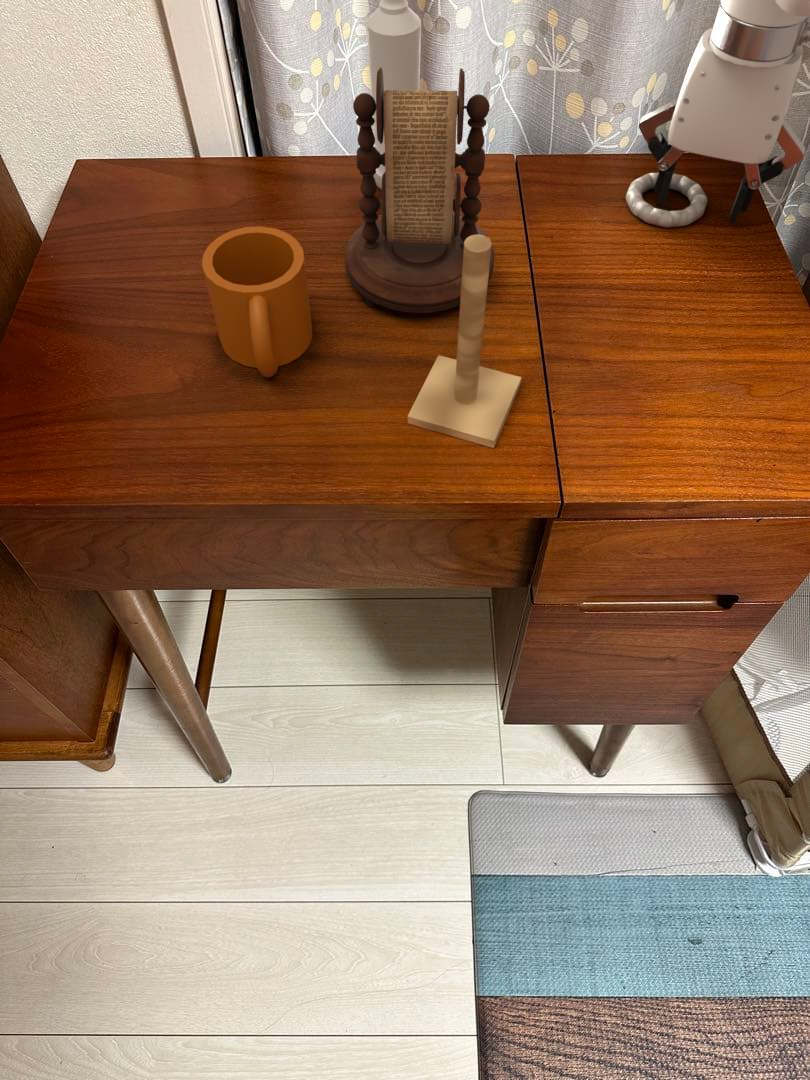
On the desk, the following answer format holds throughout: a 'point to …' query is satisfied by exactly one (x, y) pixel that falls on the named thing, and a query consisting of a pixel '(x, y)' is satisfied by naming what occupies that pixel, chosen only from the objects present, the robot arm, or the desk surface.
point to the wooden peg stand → (467, 367)
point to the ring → (664, 216)
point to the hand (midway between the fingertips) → (697, 205)
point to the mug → (259, 296)
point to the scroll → (416, 197)
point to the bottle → (393, 54)
